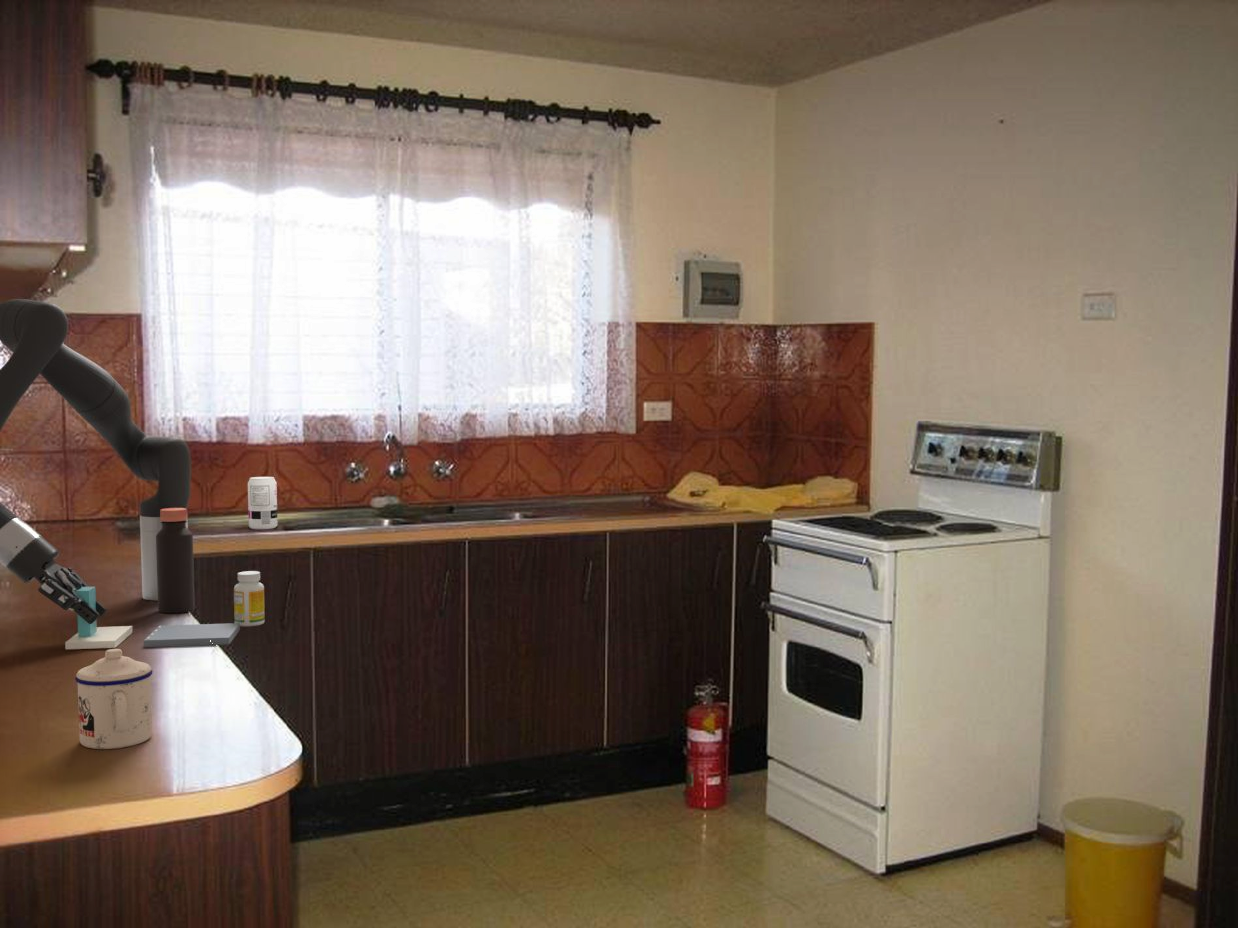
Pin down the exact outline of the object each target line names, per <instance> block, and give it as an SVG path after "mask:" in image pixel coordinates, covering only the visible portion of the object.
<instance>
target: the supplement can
mask: <svg viewBox="0 0 1238 928" xmlns="http://www.w3.org/2000/svg"><path fill="white" fill-rule="evenodd" d="M277 487H278V483H277V481H276V479H275V477H274V476H253V477H252V476H251V477H249V479H248V481H247V506H248V508H247V509H248V511H247V512H248V514H247V515H248V527H249V528H250V529H251V530H260V531H261V530H272V529H275V528H276V527H277V526H278V524H279V523H278V495H277V494H278V488H277Z"/></svg>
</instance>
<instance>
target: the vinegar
mask: <svg viewBox="0 0 1238 928" xmlns="http://www.w3.org/2000/svg"><path fill="white" fill-rule="evenodd" d="M187 516H188V508H187V509H186V508H166V509H161V510H160V520H161V521H162V522H161V523H162V529H161V530H160V531H159V532H158V534H157V535H156V557H157V588H158V600H157V609H158V612H159V613H161V614H167V615H168V614H170V615H171V614H172V615H173V614H183V613H189V612H192V611H194V610H195V608H196V606H195V605H196V603H195V573H194V572H195V571H194V570H195V569H194V568H195V567H194V565H195V564H194V540H193V539H194V537H193V535H194V534H193V533H192V532H191V530H190V529H189V528H188V529H187V528H186V522H187V521H186V520H187Z"/></svg>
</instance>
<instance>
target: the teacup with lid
mask: <svg viewBox="0 0 1238 928" xmlns="http://www.w3.org/2000/svg"><path fill="white" fill-rule="evenodd" d="M104 653H105V654H104V657H102V658H100V659H97V660H96V661H95V662H93V663H92V664H90V665H88V666H85V667H82V668H81V669H79V670H78V671H77V673H76V675H75V677H74V678H75V682H77V700H78V704H77V705H78V726H79V727H78V729H79V734H78V735H79V743H80V745H82V746H83V747H86V748H88V749H95V750H115V749H124V748H128V747H132V746H136V745H140V744H141V743H144V742H146V741H148V740H149V739H151V737H152V736H153V711H152V710H153V709H152V708H153V707H152V706H153V705H152V678H151V677H152V675H153V669H152V667H151V665H149V664H148V663H147V662H142V661H139V660H135V659H134V658H131V657H129V656H124V655H123V651H122V649H120V648H108V649H107V650H105V652H104Z"/></svg>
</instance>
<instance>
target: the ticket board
mask: <svg viewBox="0 0 1238 928" xmlns="http://www.w3.org/2000/svg"><path fill="white" fill-rule="evenodd" d="M240 630H241V626H240V623H235V622H233V623H229V622H228V623H202V624H201V623H200V624H198V623H197V624H171V625H168V624H167V625H158V626H157V627H156V628H155V629H154V630H153V631H152V632H151V633H150V634H148V636H147V637H145V639H143V647H144V648H161V647H187V646H193V647H194V646H216V645H217V646H222V645H230V644H231V643H232V641H233V640H234V638H235V637H236V636H237V635H238V633H239V632H240ZM210 640H211V642H210ZM212 643H213V644H214V645H212Z"/></svg>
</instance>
